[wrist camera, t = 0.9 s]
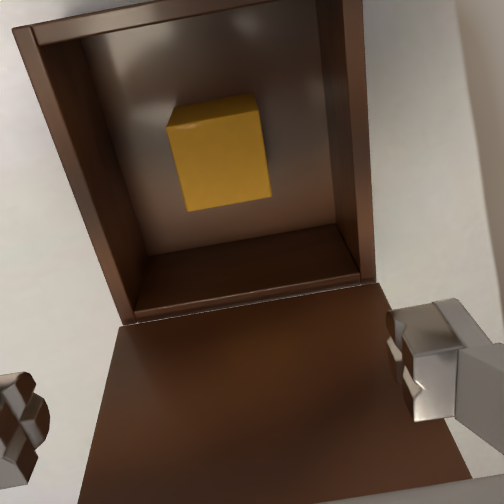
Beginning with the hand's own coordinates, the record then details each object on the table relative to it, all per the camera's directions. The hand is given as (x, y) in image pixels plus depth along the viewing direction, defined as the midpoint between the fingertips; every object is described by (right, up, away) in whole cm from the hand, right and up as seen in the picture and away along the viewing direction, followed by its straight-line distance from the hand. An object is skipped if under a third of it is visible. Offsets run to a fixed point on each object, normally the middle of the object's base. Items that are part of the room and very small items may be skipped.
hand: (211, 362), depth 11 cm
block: (-1, +9, +16) cm, 18 cm away
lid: (+1, -4, +7) cm, 9 cm away
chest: (-1, +9, +17) cm, 19 cm away
